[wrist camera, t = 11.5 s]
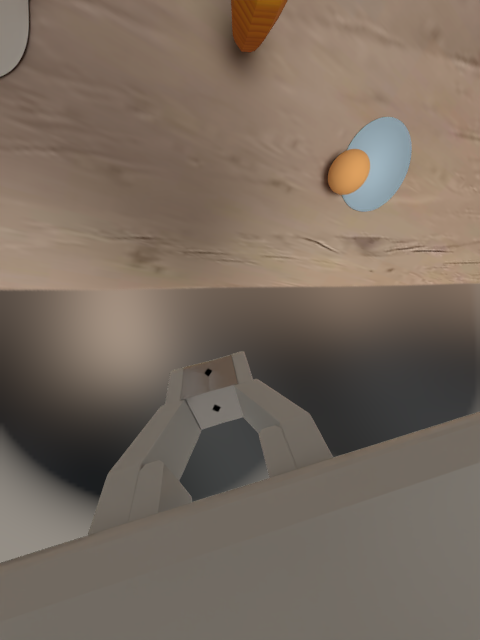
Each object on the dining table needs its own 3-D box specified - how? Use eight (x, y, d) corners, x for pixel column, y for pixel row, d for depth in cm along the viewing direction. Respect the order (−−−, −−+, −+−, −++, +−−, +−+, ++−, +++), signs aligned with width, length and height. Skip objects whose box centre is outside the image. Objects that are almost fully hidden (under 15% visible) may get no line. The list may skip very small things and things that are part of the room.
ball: (373, 136, 25) (366, 146, 29) (326, 154, 27) (326, 161, 32) (373, 186, 27) (367, 188, 32) (329, 199, 30) (329, 199, 34)
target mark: (342, 126, 29) (342, 126, 29) (419, 109, 30) (420, 109, 29) (337, 218, 35) (338, 218, 35) (400, 202, 36) (401, 202, 36)
